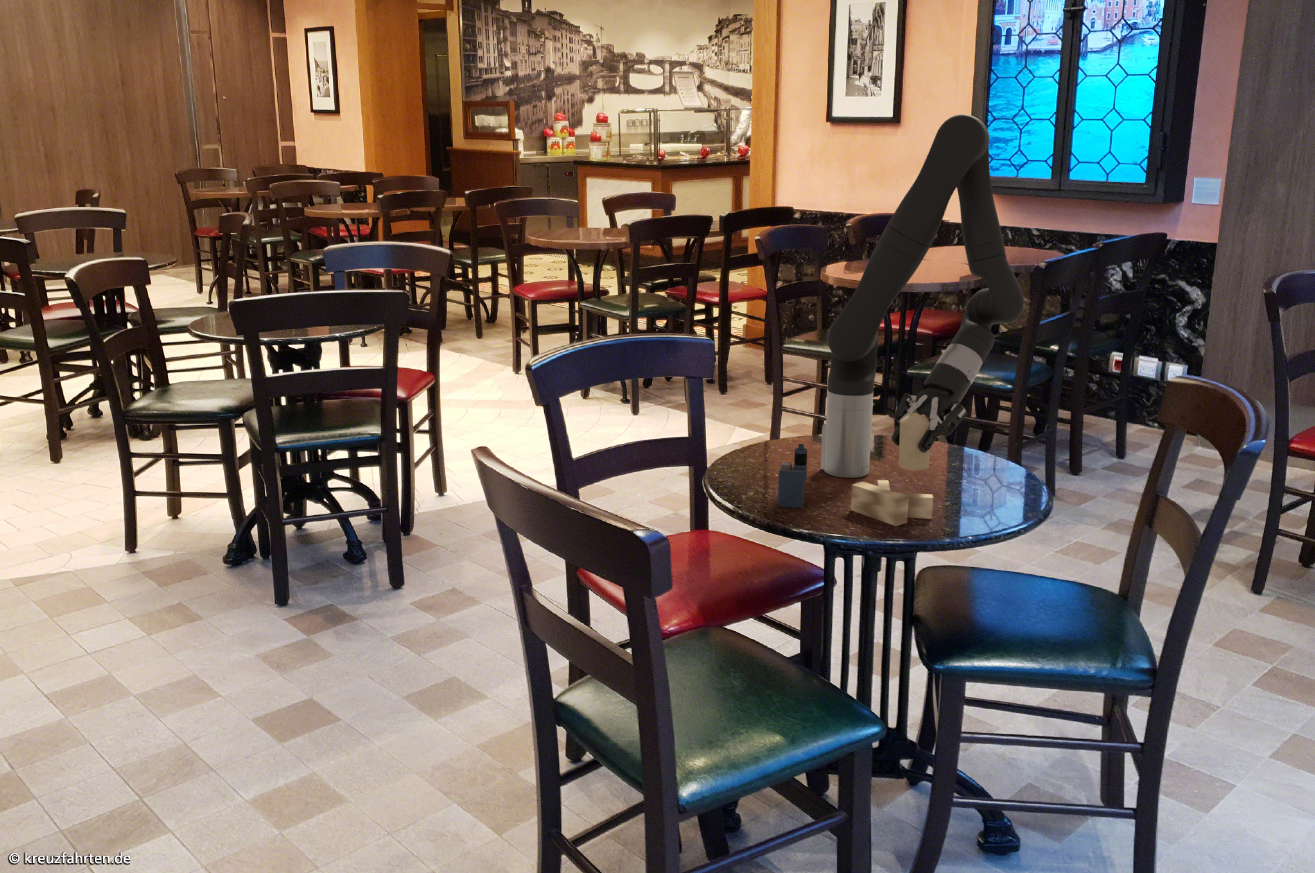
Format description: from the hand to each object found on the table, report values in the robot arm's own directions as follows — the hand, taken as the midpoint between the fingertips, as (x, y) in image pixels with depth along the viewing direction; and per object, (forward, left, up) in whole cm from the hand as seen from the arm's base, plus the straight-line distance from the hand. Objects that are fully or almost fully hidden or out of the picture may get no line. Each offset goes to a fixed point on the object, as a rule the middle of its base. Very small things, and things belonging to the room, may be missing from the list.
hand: (908, 446), depth 200 cm
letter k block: (0, -3, -12) cm, 13 cm away
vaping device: (-14, -15, -12) cm, 24 cm away
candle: (0, +2, -4) cm, 5 cm away
